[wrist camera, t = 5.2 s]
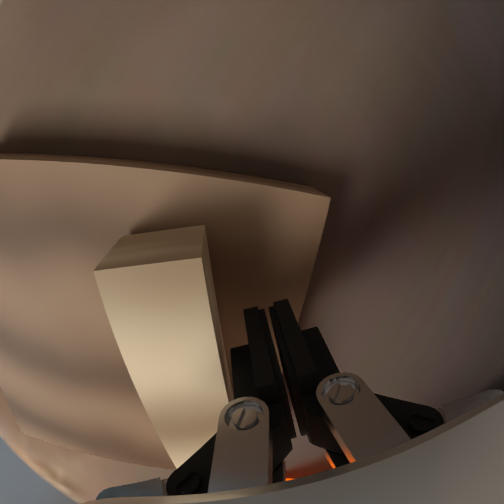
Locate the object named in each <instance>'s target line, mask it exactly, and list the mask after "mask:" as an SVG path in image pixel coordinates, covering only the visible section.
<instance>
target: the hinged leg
mask: <svg viewBox="0 0 504 504" xmlns="http://www.w3.org/2000/svg"><path fill="white" fill-rule="evenodd" d="M93 272H94V275H95V279H96V282H97V285H98V289H99V292H100V295H101V298H102V301H103V304H104V308H105V311H106V313H107V316H108V319H109V322H110V325H111V328H112V331H113V333H114V336H115V339H116V342H117V344H118V347H119V349H120V352H121V355H122V357H123V360H124V362H125V365H126V367H127V369H128V372H129V374H130V377H131V379H132V381H133V383H134V386H135V388H136V390H137V393H138V395H139V397H140V399H141V401H142V403H143V406H144V408H145V410H146V412H147V414H148V416H149V418H150V420H151V422H152V424H153V426H154V428H155V430H156V432H157V434H158V436H159V438H160V440H161V442H162V443H163V445H164V447H165V449H166V451H167V453H168V454H169V456H170V458H171V460H172V462H173V463H174V465H175V467H176V469H177V468H179V467H180V466H181V465H182V464H183V463H184V462H185V461H187V460H188V459H189V458H190V457H191V456H192V455H193V454H194V453H195V452H196V451H198V450H199V449H200V448H201V447H202V446H203V445H204V444H205V443H206V442H207V441H208V440H209V439H210V438H211V437H212V436H214V435H215V434H216V433H217V427H218V421H219V416H220V413H221V411H222V409H223V408H224V407H225V405H227V404H228V403H229V402H231V401H233V400H234V396H233V391H232V386H231V381H230V376H229V370H228V365H227V359H226V354H225V348H224V343H223V337H222V331H221V325H220V320H219V314H218V308H217V301H216V295H215V289H214V283H213V276H212V270H211V263H210V256H209V250H208V243H207V236H206V229H205V225H199V226H191V227H184V228H176V229H169V230H162V231H154V232H147V233H140V234H133V235H126V236H122V237H121V238H120V239H119V240H118V241H117V243H116V244H115V245H114V246H113V247H112V249H111V250H110V251H109V252H108V253H107V255H106V256H105V257H104V258H103V260H102V261H101V262H100V263H99V264H98V266H97V267H96V268H95V269H94V271H93Z"/></svg>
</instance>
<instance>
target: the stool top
mask: <svg viewBox="0 0 504 504" xmlns="http://www.w3.org/2000/svg"><path fill="white" fill-rule="evenodd" d="M330 200H331V198H330V197H329V196H327V195H325V194H324V193H322V192H320V191H318V190H316V189H315V188H313V187H311V186H306V185H301V184H296V183H290V182H285V181H280V180H274V179H269V178H263V177H257V176H251V175H245V174H239V173H232V172H226V171H219V170H212V169H205V168H198V167H191V166H183V165H175V164H166V163H158V162H148V161H139V160H128V159H117V158H105V157H92V156H77V155H58V154H31V153H0V386H1V389H2V391H3V394H4V396H5V398H6V400H7V403H8V405H9V407H10V409H11V411H12V413H13V415H14V417H15V419H16V421H17V423H18V425H19V427H20V429H21V431H22V433H24V434H26V435H29V436H32V437H34V438H37V439H40V440H43V441H46V442H49V443H52V444H55V445H58V446H61V447H65V448H68V449H72V450H75V451H79V452H83V453H86V454H90V455H94V456H99V457H103V458H107V459H112V460H117V461H122V462H127V463H133V464H138V465H145V466H151V467H158V468H166V469H175V470H176V467H175V465H174V463H173V462H172V460H171V458H170V456H169V454H168V453H167V451H166V449H165V447H164V445H163V443H162V442H161V440H160V438H159V436H158V434H157V432H156V430H155V428H154V426H153V424H152V422H151V420H150V418H149V416H148V414H147V412H146V410H145V408H144V406H143V403H142V401H141V399H140V397H139V395H138V393H137V390H136V388H135V386H134V383H133V381H132V379H131V377H130V374H129V372H128V369H127V367H126V365H125V362H124V360H123V357H122V355H121V352H120V349H119V347H118V344H117V342H116V339H115V336H114V333H113V331H112V328H111V325H110V322H109V319H108V316H107V313H106V311H105V308H104V304H103V301H102V298H101V295H100V292H99V289H98V285H97V282H96V279H95V275H94V272H93V271H94V269H95V268H96V267H97V266H98V264H99V263H100V262H101V261H102V260H103V258H104V257H105V256H106V255H107V253H108V252H109V251H110V250H111V249H112V247H113V246H114V245H115V244H116V243H117V241H118V240H119V239H120V238H121V237H122V236H126V235H133V234H140V233H147V232H154V231H162V230H169V229H176V228H184V227H191V226H199V225H205V229H206V236H207V243H208V250H209V256H210V263H211V270H212V276H213V283H214V289H215V295H216V301H217V308H218V314H219V320H220V325H221V331H222V337H223V343H224V348H225V354H226V359H227V365H228V370H229V376H230V381H231V386H232V391H233V396H234V390H233V378H232V366H231V353H230V349H231V348H233V347H238V346H242V345H247V344H248V338H247V332H246V325H245V319H244V312H243V309H247V308H251V307H255V306H258V310H260V309H265V313H266V317H267V321H268V324H269V328H270V332H271V336H272V339H273V343H274V347H275V351H276V354H277V358H278V362H279V366H280V369H281V373H282V372H283V369H282V365H281V361H280V356H279V352H278V348H277V343H276V339H275V335H274V330H273V326H272V322H271V317H270V313H269V309H268V307H272V306H274V305H273V302H275V301H279V300H283V299H288V301H289V303H290V306H291V308H292V310H293V313H294V315H295V318H296V320H297V323H298V321H299V317H300V314H301V311H302V307H303V304H304V300H305V297H306V293H307V290H308V286H309V282H310V279H311V275H312V271H313V268H314V264H315V260H316V256H317V252H318V249H319V245H320V241H321V237H322V233H323V229H324V225H325V221H326V217H327V212H328V208H329V204H330Z"/></svg>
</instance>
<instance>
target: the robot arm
mask: <svg viewBox="0 0 504 504" xmlns="http://www.w3.org/2000/svg"><path fill="white" fill-rule="evenodd" d="M273 305H274V306H272V307H268V309H269V313H270V317H271V322H272V326H273V330H274V335H275V339H276V343H277V348H278V352H279V356H280V361H281V365H282V369H283V372H284V376H285V380H286V383H287V387H288V390H289V394H290V398H291V401H292V405H293V408H294V412H295V416H296V419H297V423H298V426H299V430H300V434H301V436H304V435H307V436H308V439H309V442H311V444H314V445H316V446H319V447H321V448H323V451H324V454H325V456H326V457H327V459H328V461H329V463H330V465H331V466H332V468H333V469H330V470H327V471H323V472H320V473H316V474H312V475H308V476H305V477H300V478H296V479H292V480H288V481H286V469H285V457H286V456H287V455H288V454H289V452H290V451H291V450H292V449H293V448H292V443H291V439H292V438H296V437H297V436H296V432H295V428H294V423H293V419H292V415H291V411H290V406H289V402H288V398H287V393H286V389H285V385H284V381H283V377H282V373H281V369H280V366H279V362H278V358H277V354H276V351H275V347H274V343H273V339H272V336H271V332H270V328H269V324H268V321H267V317H266V313H265V309H260V310H258V306H255V307H251V308H247V309H243V312H244V319H245V325H246V332H247V338H248V344H247V345H242V346H238V347H233V348H231V349H230V353H231V366H232V378H233V390H234V400H233V401H231V402H229V403H228V404H227V405H225V407H224V408H223V409H222V411H221V413H220V416H219V421H218V427H217V433H216V434H215V435H214V436H212V437H211V438H210V439H209V440H208V441H207V442H206V443H205V444H204V445H203V446H202V447H201V448H200V449H199V450H198V451H196V452H195V453H194V454H193V455H192V456H191V457H190V458H189V459H188V460H187V461H185V462H184V463H183V464H182V465H181V466H180V467H179V468H177V469H176V470H175V471H174V472H173V473H172V474H171V475H170V477H169V478H167V479H163V480H162V479H161V478H160V477H159V478H155V479H151V480H146V481H142V482H137V483H132V484H127V485H121V486H116V487H110V488H107V489H104V490H103V491H102V492H100V493H99V495H98V496H97V498H96V500H94V501H89V502H85V503H82V504H504V392H503V391H501V390H497V389H492V390H487V391H484V392H481V393H478V394H475V395H472V396H469V397H466V398H463V399H459V400H456V401H452V402H449V403H445V404H442V405H441V407H440V408H438V409H435V408H432V407H429V406H425V405H420V404H416V403H411V402H407V401H403V400H399V399H394V398H390V397H386V396H382V395H378V394H375V393H373V392H372V391H371V389H370V388H369V387H368V386H367V385H366V383H365V382H364V381H363V380H362V379H361V378H360V377H359V376H357V375H355V374H352V373H346V372H343V373H340V372H339V370H338V368H337V366H336V364H335V362H334V360H333V358H332V356H331V353H330V351H329V349H328V347H327V345H326V343H325V341H324V339H323V337H322V335H321V333H320V331H319V329H318V327H314V328H310V329H306V330H303V331H301V330H300V327H299V325H298V323H297V320H296V318H295V315H294V313H293V310H292V308H291V306H290V303H289V301H288V299H283V300H279V301H275V302H273Z"/></svg>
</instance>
